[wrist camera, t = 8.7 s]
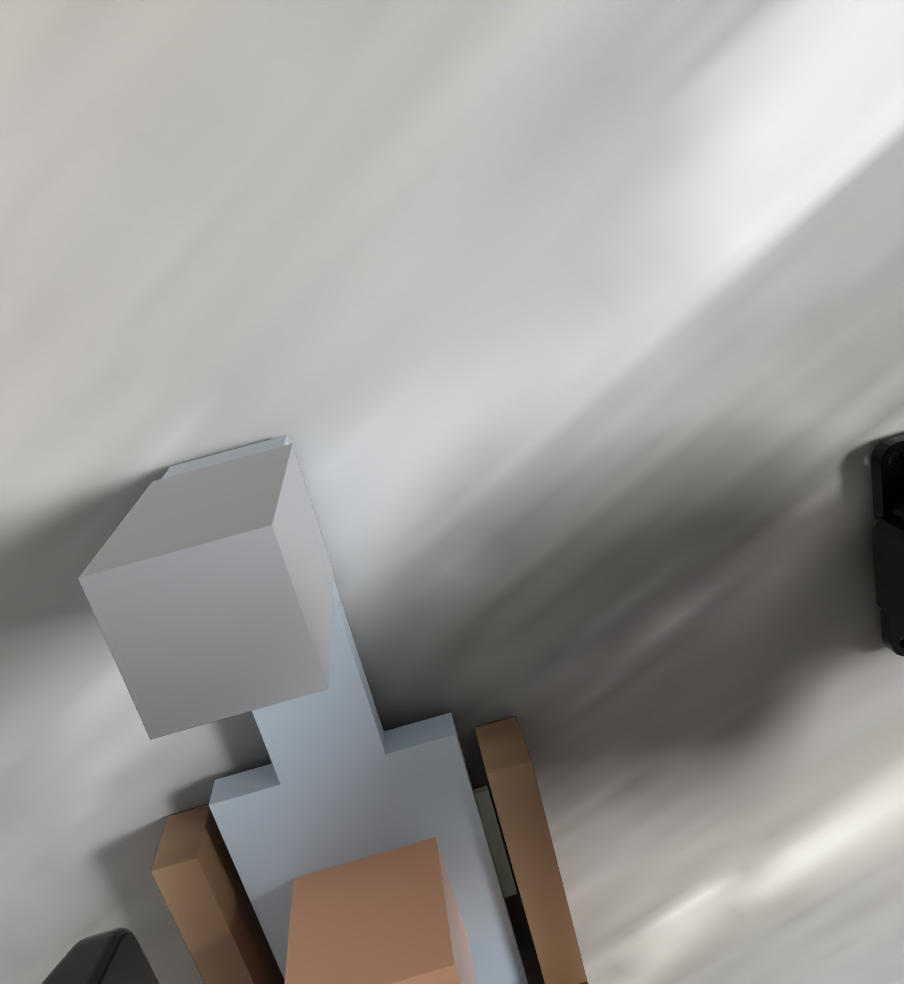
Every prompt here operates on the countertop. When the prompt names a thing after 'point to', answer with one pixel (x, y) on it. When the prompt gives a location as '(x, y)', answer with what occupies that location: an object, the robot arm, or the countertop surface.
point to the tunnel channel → (237, 931)
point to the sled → (284, 691)
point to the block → (379, 922)
